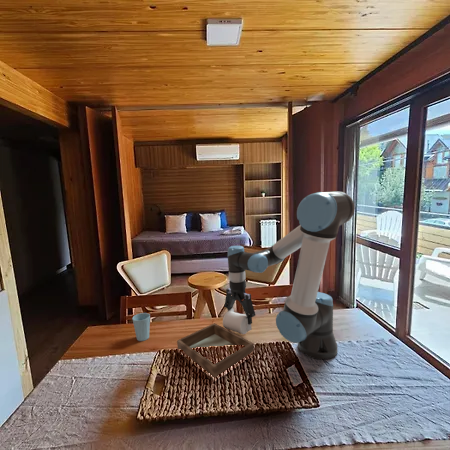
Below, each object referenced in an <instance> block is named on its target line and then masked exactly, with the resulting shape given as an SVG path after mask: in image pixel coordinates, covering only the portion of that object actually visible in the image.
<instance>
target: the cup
mask: <svg viewBox="0 0 450 450" xmlns="http://www.w3.org/2000/svg"><path fill="white" fill-rule="evenodd" d="M150 319H151V313H147V312H141V313H137V314H135V315H133V317H132V318H131V320H132V324H133V327H134V333H135V336H136V337H135V339H136V340H137V341H138V342H144V341H146V340H149V339H150V329H151V328H150V324H151V320H150Z"/></svg>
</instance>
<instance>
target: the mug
mask: <svg viewBox="0 0 450 450" xmlns="http://www.w3.org/2000/svg"><path fill="white" fill-rule="evenodd" d="M246 317H247V316H246V313H239V312H235V311H234V312H232V311H228V310H227V311H226V312H225V313H224V316H223V318H222V327H223V328H225V329H227V330H229V331H231V332H234V333H235V332H236V333H238V334H241V335H246V334H247V333H248V332H247V331H246Z"/></svg>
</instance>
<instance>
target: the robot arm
mask: <svg viewBox="0 0 450 450" xmlns="http://www.w3.org/2000/svg"><path fill="white" fill-rule="evenodd" d="M299 202H300V203H299V204H298V206H297V208H296V209H297V210H296V218H297V221H299V222H298V223H299V225H298V226H297V227H295V228H294V229H292V230H291V231H290V232H288V233H287V234H286V235H285V236H283V237H281V238H280V239H279V240H277V241H276V242H275V243H274V244H272V245H271V246H270V247H268V248H267V249H262V250H259V251H255V252H247V251H245V247H244V246H242V245H231V246H229V247H228V248H227V266H228V267H227V268H228V280H229V288H226V289H225V293H226V294H225V300H224V308H226V309H227V312H228V311H232V312H235V311H234V310H235V309H234V306H235V304H236V301H238V302H239V304H240V305H241V306H242V309H243V312H244V314H246V316H247V317H246V331H247V333H248V332H250V331H252V324H253V317H256V312H255V308H254V304H253V301H252V295H251V293H247V292H246V288H247V281H246V271H247V272H252V273H259V274H260V273H261V274H262V273H264V272H265V271H266V270H267V269H268V267H271V266H274V265H279V264H281V262H283V261H285V258H287V257H288V256H290V255H292V254H293V253H295V252H296V251H298V250H299V249H300V251H299V255H298V260H297V265H296V266H297V267H296V271H295V274H294V280H293V284H292V289H291V293H290V295H289V296H287V297H286V298H285V300H284V306H283V310H280V311H279V312H278V313H277V315H276V317H275V325H276V328H277V330H278V331H279V334H281V336H282V337H283V338H284V339H285V340H286V341H289V342H290V343H293V344H295V343H296V344H297V345H298V346H297V347H298V350H299V351H300V352H301V353H302V354H304V355H305V356H307V357H309V358H313V359H316V360H328V359H329V360H330V359H332V358H335V357H336V356H337V354H338V350H339V349H338V348H339V346H338V343H337V340H336V337H335V334H334V332H333V331H334V303H333V301H334V300H333V297H332V296H331V295H330V294H327V293H324V292H320V291H319V289H320V284H321V280H322V277H323V273H324V269H325V265H326V261H327V256H328V253H329V248H330V244H331V241H333V240H335V239H337V235H338V232H339V228H340V226H343V225H344V224H346V223H348V222H349V221H350V220H351V219H352V218H353V216H354V214H355V209H356V208H355V202H354V200H353V199H352V197H351V196H350V195H349V194H348V193H346V192H344V191H337V190H336V191H324V192H322V191H317V192H314V193H311V194H308V195H306V196H305V197H304V198H302V200H301V201H299Z"/></svg>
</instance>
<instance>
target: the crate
mask: <svg viewBox="0 0 450 450" xmlns="http://www.w3.org/2000/svg"><path fill="white" fill-rule="evenodd" d="M176 343H177V344H176V345H177V350H178V349H181V350H183V351H184V352H185V353H186V354H187V355H188V356H189V357H190V358H191V359H192V360H193V361H194V362H196V363H197V364H198V365H199V366H201V367H202V368H203V369H204V370H206V371H207V372H208V373H210V374H211V375H212V376H213V377H217V376H218V375H219V374H221V373H222V372H224V371H225V370H227V369H228V368H230V367H231V366H233V365H234V364H236V363H237V362H239V361H240V360H242V359H243V358H244V357H246V356H247V355H248V354H250V353H251V352H252V351H253V350H254V349H255V348H254V342H252V341H250V340H248V339H246V338H245V337H244V338H243V337H242V336H240V335H238V334H236V333H235V332H234V331H232V330H229V329H226V328H224V326H222V325H219V324H217V323H216V322H214V323H212V324H210V325H208V326H206V327H202V328H201V329H198V330H197V331H194V332H192V333H190V334H188V335H186V336H184V337H181V338H180V339H179V338H178V339H177V340H176ZM224 345H244V346H245V347H243V348H241V349H240V350H238V351H236V352H235V353H233V354H231V355H230V356H228V357H226V358H225V359H223V360H221V361H220V362H218V363H216V364H213V363H212V362H211V361H209V360H208V359H206V358H205V357H203V356H202V355H201V354H199V353H198V352H196V351H195V350H193V349H192V348H196V347H209V346H224Z"/></svg>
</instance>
